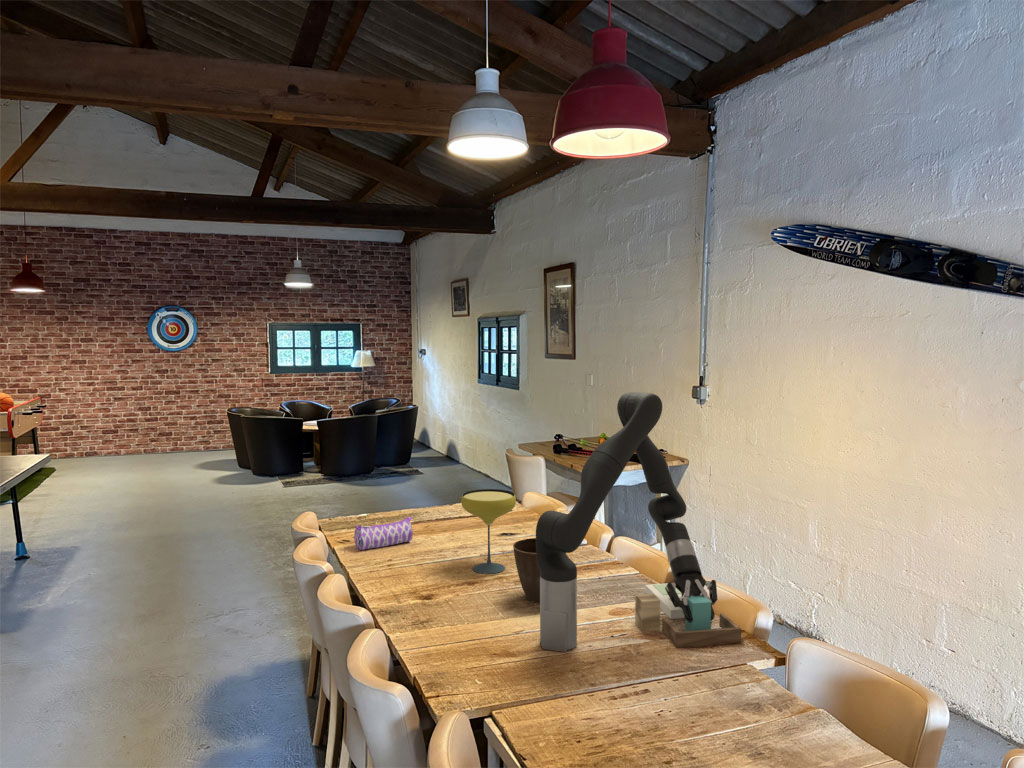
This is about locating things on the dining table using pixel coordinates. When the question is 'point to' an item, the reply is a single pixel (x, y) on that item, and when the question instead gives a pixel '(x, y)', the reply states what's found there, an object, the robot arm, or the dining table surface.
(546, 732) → the dining table surface
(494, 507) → the cocktail glass
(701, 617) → the teal block
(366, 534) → the pencil case
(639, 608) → the beech block
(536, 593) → the plant pot
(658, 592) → the cream hole board
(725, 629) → the walnut tray
